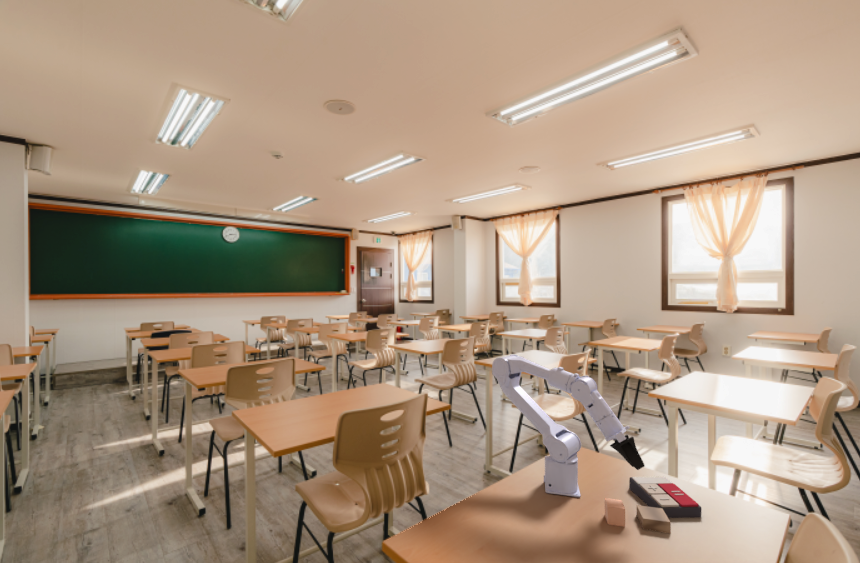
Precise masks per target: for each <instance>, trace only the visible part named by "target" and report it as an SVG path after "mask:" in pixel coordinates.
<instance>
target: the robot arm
mask: <svg viewBox="0 0 860 563" xmlns="http://www.w3.org/2000/svg"><path fill="white" fill-rule="evenodd" d="M491 367H492V368H491V369H492V370H491V371H492V372H491V374H492V375H493V377H494V378H495V379H497V380H496V381H497V382H498V384H499V387H500V389H501V391H502V393H503V394H504V395H505V396H506V398H508V400H509V401H510V402H511V403H512V404H513V405H514V406H515V407H516V408H517V409H518V410H519V411H520V412H521V414H522V415H523V416H524V418H526V419H527V420H528V421H529V422H530V423H531V424H532V426H534V428H535V429H536V430H537V431H538V432H539V433H540V434H541V435H542V444H543V445H544V446H545V447H546V449H547V451H548V454H549V455H545V456H544V474H543V482H544V490H545V493H546V494H552V495H553V494H554V495H561V496H568V497H575V498H581V492H580V487H579V484H578V483H579V480H578V479H579V478H578V477H579V471H578V470H579V468H578V466H579V465H578V464H579V459H578V453H579V451H580V450H581V449H582V441H581V438H580V437H579V436H578V435H577V433H575V432H573V431H571V430H569V429H568V428H567V427H566V426H564V425H562V424H559V423H556V422H555V420H553V419H552V418H551V416H549V415H548V413H546V411H545V410H543V408H542V407H541V406H540V405H539V404H538V403H537V402H536V401H535V400H534V399H533V398H532V397H531V396H530V395H529V394H528V393H527V392H526V390H525V389H524V388H522V386H521V385H520V379H521V376H522V373H526V374H529V375H530V376H533V377H534V376H535V377H537V378H540V379H543V380H546V381H547V384H548V385H549V386H551V387H553V388H556V389H558V390H560V391H563V392H565V393H568V394H571V397H572V398H573V399H574V400H576V401H578V402H579V403H580V404H581V405H582V406H583V407H584V409H585V411H586V412H587V413H588V415H589V416H590V418H591V419H592V421H593V423H595V425H596V426H597V428H598V429H599V431H600V432H601V434H602V435H603V437H604V439H605V441H606V442H610V441H614V442H613V443H611V444H610V445H609V446H610V448H612V449H614V451H617V453H618V454H620V456H622V458H624V460H625V461H626V462H627V464H629V466H631V467H633V468H634V469H635V470H637V471H639V470H640V469H642V468H644V467H645V463H644V461H643V459H642V457H641V455H640V453H639V451H638V448H637V446H636V442H635V438H634V436H629V434H625V433H626V432H627V431H628V430H629V429H630V426H629V425H626V426H624V425H623V424H622V422H621V421H620V419H619V418H618V417H617V416H616V414H615V412H614V411H613V410H612V408H611V407H610V405H609V404H608V403H607V401H606V399H605V398H603V396H602V395H601V393H600V392H599V390H598V384H597V382H596V380H595V379H593V378H592V377H590V376H588V375H582V376H581V375H580V374H579V373H577V372H576V373H573V372H569V371H566V370H564V367H563V366H558V367H553V368H551V369H550V368H549V367H545V366H543V365H541V364H539V363H537V362H534V361H531V360H529V359H528V358H525V357H524V356H521V355H520V356H519V355H517V354H510V355H506V356H502V357H496V358H495V359H494V360H493V361H492V365H491Z"/></svg>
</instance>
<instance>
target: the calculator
mask: <svg viewBox="0 0 860 563" xmlns="http://www.w3.org/2000/svg"><path fill="white" fill-rule="evenodd" d="M628 482H629V485H628V488H629V491H631V492H632V493H633V494H635V496H637V497H638V498H639V499H641V501H642V502H643V503H644V504H645V506H648V507H655V508H662V509H663V510H664V512H665V514H666V515H667V517H668V519H677V518H680V519H683V518H684V519H687V518H688V519H689V518H702V506H701V505H699V503H698V502H697V501H695V500H694V499H693V498H692V497H691V496H690V495H688V494H687V493H686V492H685V491H684V490H682V489H681V488H680V487H679V486H677V485H676V484H675V483H673V482H672V481H671V480H670V479H668V478H667V477H666V476H665V475H663V476H660V475H659V476H655V475H654V476H632V477H629V481H628Z"/></svg>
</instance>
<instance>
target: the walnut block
mask: <svg viewBox="0 0 860 563" xmlns="http://www.w3.org/2000/svg"><path fill="white" fill-rule="evenodd" d="M636 517H637V519H638V522H639V524H640V525H641V528H642V530H645V531H652V532H659V533H666V534H671V531H672V530H671V529H672V528H671V526H672V525H671V524H672V523H671V520H670V518H668V517H667V515H666V514H665V512H664V510H663V509H662V508H655V507H648V506H647V505H640V504H636Z"/></svg>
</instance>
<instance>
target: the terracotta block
mask: <svg viewBox="0 0 860 563" xmlns="http://www.w3.org/2000/svg"><path fill="white" fill-rule="evenodd" d="M604 517H605V520H606V522H607V525H611V526H618V527H626V506H624V503H623V500H622V499H616V498H615V499H614V498H608V497H605V498H604Z"/></svg>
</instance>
